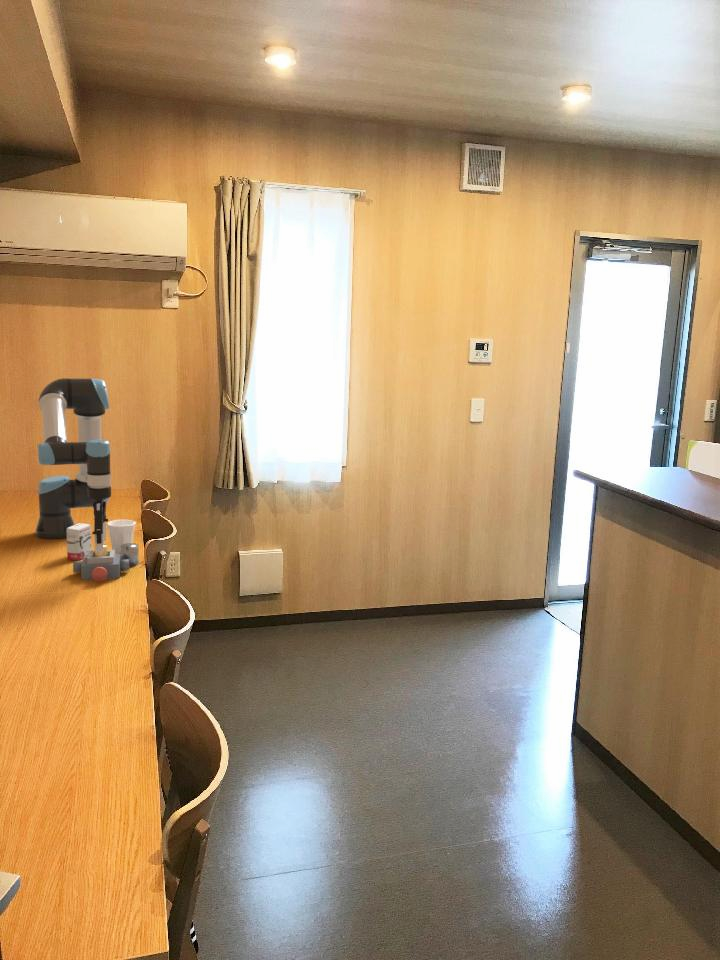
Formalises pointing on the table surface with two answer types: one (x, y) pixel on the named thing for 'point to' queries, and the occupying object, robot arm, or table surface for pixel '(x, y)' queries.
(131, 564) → the steel nipple large
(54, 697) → the table surface
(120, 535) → the cup
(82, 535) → the ink box
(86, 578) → the valve body
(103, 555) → the brass cylinder
